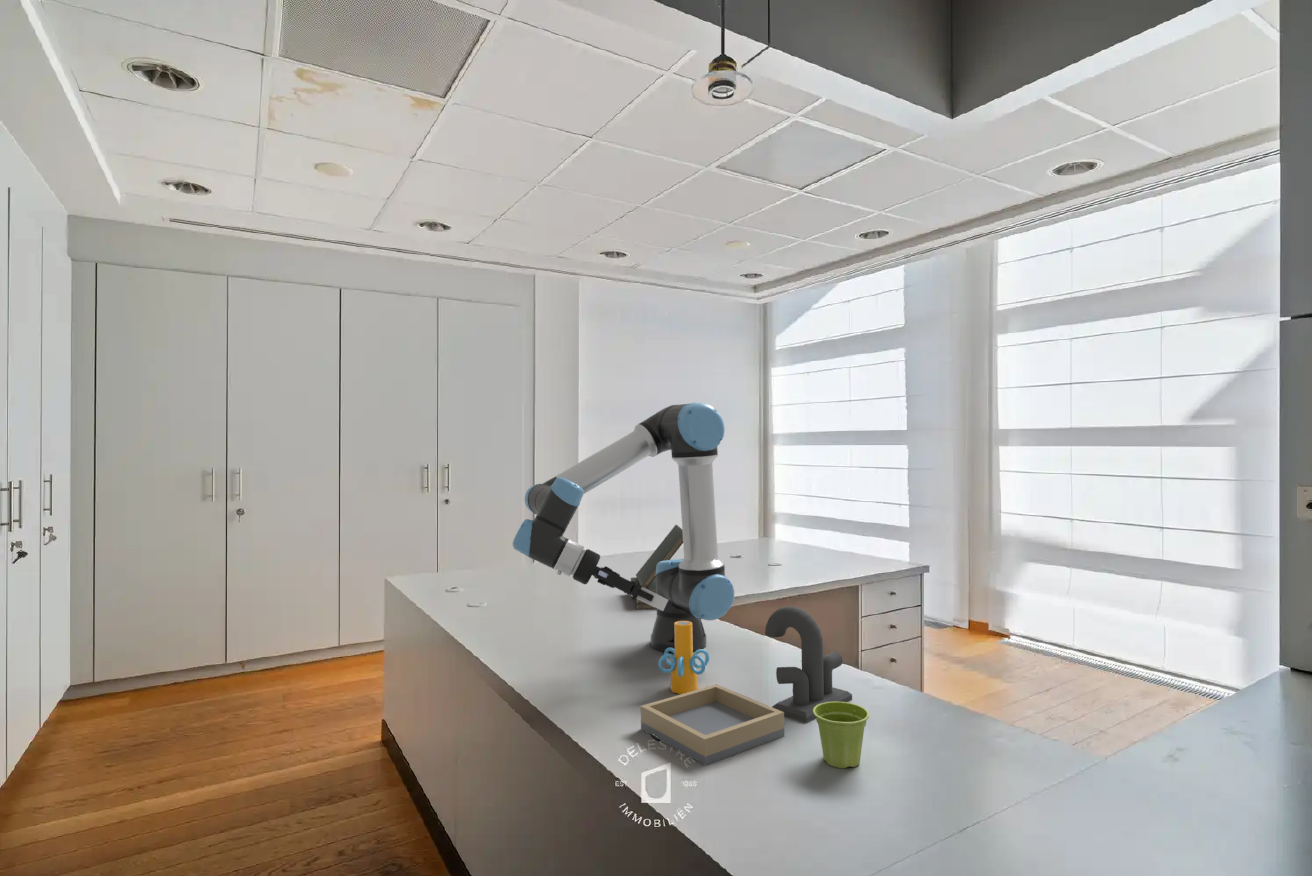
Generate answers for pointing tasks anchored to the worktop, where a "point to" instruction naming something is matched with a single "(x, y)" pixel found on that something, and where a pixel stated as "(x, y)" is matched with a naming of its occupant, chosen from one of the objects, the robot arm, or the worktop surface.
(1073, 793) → the worktop surface
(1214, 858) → the worktop surface
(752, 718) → the tan and grey tray
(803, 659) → the faucet
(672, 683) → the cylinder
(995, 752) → the worktop surface
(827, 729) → the plant pot
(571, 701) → the worktop surface
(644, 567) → the grey slanted block structure
